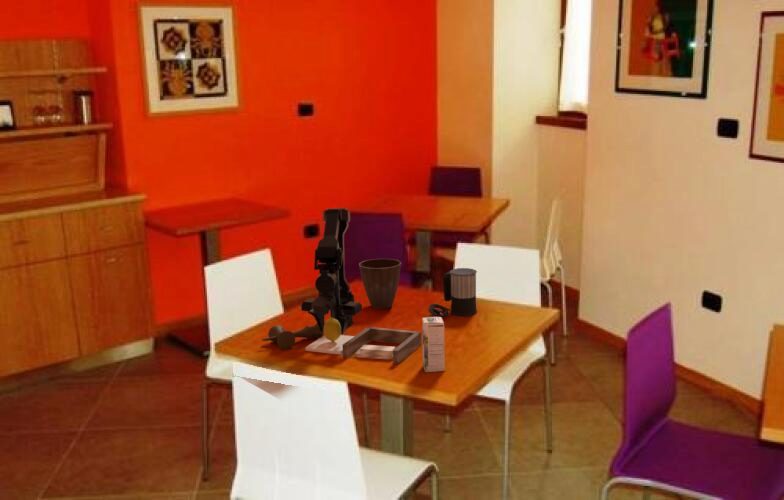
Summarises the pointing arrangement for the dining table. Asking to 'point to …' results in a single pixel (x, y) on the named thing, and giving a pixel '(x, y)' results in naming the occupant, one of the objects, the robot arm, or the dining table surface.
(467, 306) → the milk frother
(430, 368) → the syrup box
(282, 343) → the kendama
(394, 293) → the plant pot
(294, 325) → the dining table surface
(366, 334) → the walnut rack
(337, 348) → the tile
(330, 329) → the lemon
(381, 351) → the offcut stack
